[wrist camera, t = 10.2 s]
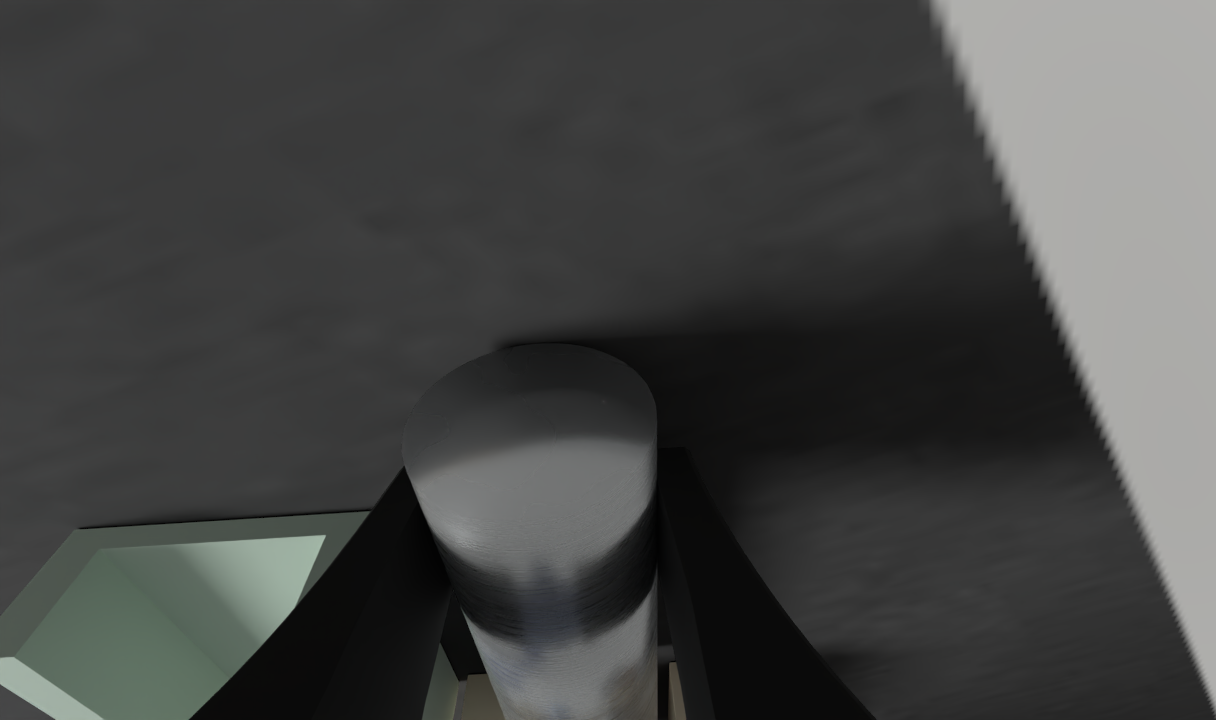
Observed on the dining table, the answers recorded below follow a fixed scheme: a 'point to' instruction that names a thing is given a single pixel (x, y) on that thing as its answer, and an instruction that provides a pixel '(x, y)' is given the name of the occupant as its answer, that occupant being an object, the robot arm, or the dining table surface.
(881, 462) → the dining table surface
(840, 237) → the dining table surface
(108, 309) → the dining table surface
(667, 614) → the robot arm
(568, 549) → the axle
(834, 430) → the dining table surface
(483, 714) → the wooden bridge block
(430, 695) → the cradle
